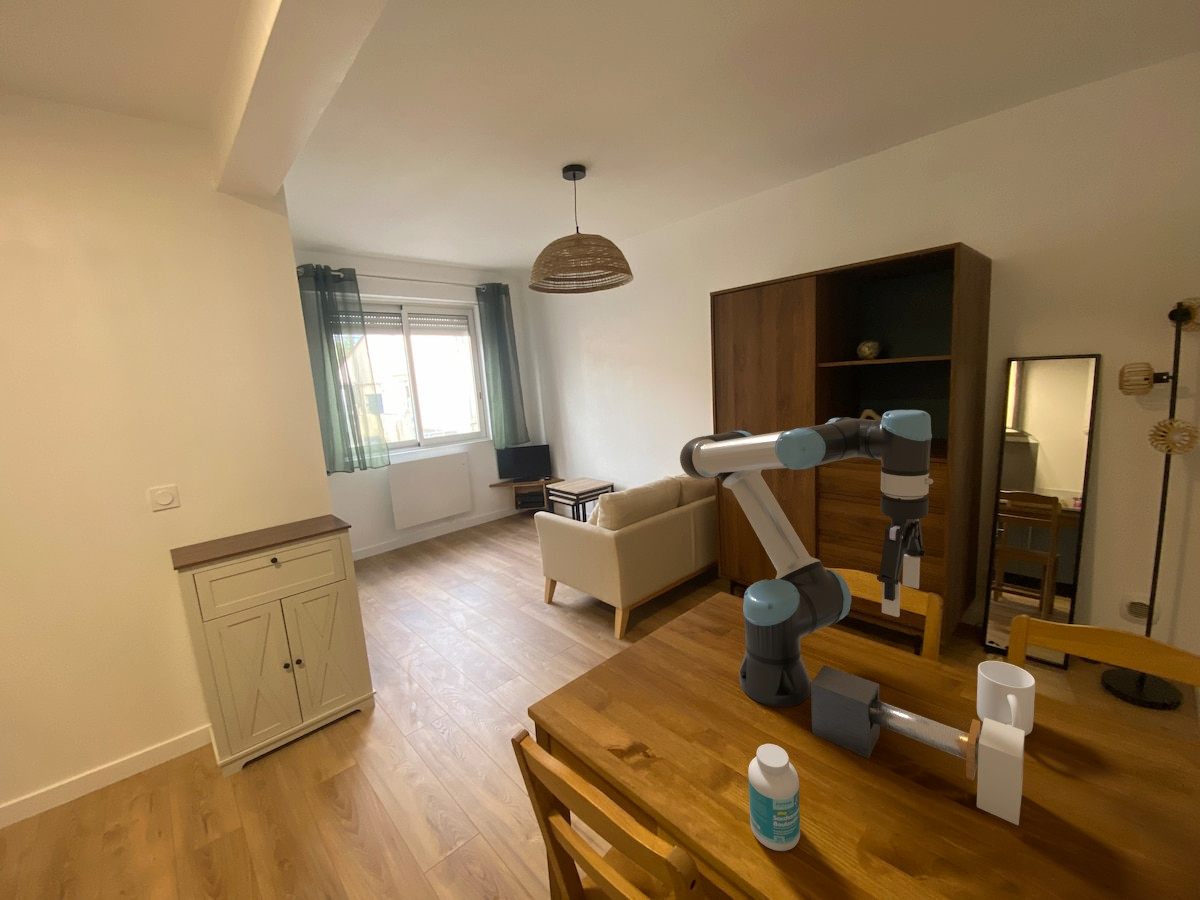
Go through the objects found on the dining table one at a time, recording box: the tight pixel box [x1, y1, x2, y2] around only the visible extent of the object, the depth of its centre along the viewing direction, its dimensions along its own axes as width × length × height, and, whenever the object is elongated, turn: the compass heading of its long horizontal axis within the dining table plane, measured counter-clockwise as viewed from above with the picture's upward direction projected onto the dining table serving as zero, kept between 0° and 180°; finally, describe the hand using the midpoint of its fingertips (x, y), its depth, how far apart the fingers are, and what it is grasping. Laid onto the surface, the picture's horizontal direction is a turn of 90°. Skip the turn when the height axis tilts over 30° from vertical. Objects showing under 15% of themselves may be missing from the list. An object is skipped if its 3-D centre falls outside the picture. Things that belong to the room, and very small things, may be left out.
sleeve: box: [810, 665, 880, 759], centre depth 91 cm, size 10×7×11 cm
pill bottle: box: [747, 743, 801, 852], centre depth 74 cm, size 8×7×14 cm
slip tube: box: [870, 699, 981, 781], centre depth 82 cm, size 20×6×6 cm, turn 46°
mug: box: [976, 660, 1036, 736], centre depth 89 cm, size 12×8×10 cm
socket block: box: [976, 717, 1026, 826], centre depth 75 cm, size 5×7×12 cm
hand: (901, 599), depth 92 cm, fingers open, 13 cm apart
